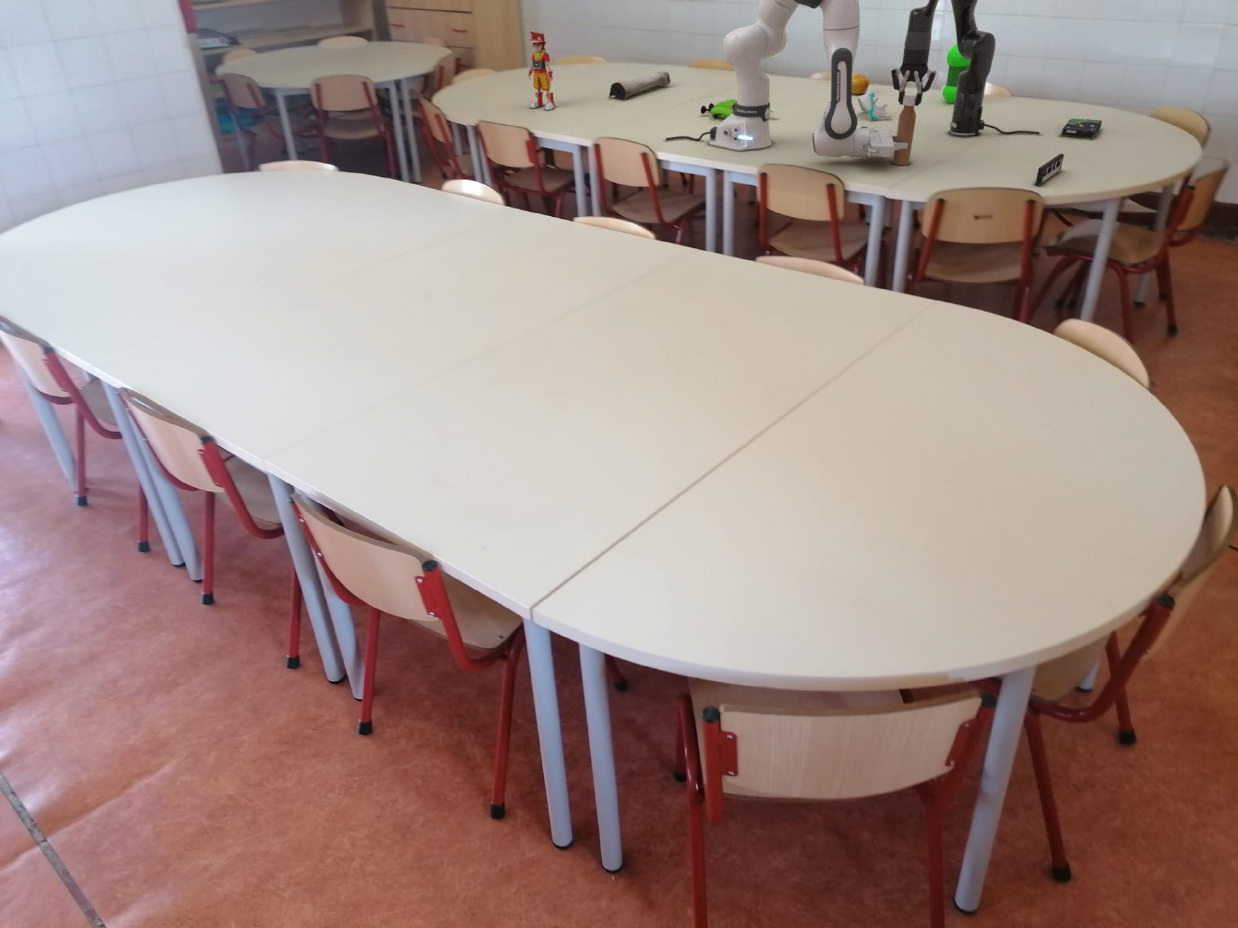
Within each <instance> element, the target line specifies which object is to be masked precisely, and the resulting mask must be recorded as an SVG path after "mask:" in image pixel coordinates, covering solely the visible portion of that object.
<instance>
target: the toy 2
mask: <svg viewBox="0 0 1238 928" xmlns="http://www.w3.org/2000/svg"><path fill="white" fill-rule="evenodd" d="M736 102H737V99H726V100H723V101H720V102H717V103H716V104H715V105H714V103H712V102H710V103H709V105H708V108H707V107H706V106H705V105H702V106H700V107H701V108H700V114H701V115H705V114H706V112H710V115H712V116H713V119H719V118H721V119H726V118H727V117H728V116H730V115H731V114H732V112H733V109H730V108H731V107H730V106H732V105H733V104H735V103H736ZM770 113H774V110H771V109H770ZM769 119H774V120H775V119H777V117H773V116H770V117H769Z"/></svg>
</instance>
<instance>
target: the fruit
mask: <svg viewBox="0 0 1238 928" xmlns="http://www.w3.org/2000/svg"><path fill="white" fill-rule="evenodd" d="M869 85H870V83H869V79H868V78H867V77H866V76H864V75H863V74H857V75H852V95H861V94H864V93H866V92H867V90H868V89H869Z"/></svg>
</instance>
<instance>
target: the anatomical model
mask: <svg viewBox="0 0 1238 928" xmlns="http://www.w3.org/2000/svg"><path fill="white" fill-rule="evenodd" d="M864 93H865V94H863V95H859V96H858V97H857V102H858V105H859V107H860V110H861V111H862V112H865V113H868V116H869V117H870V119H871V120H872V121H878V120H879V119H890V118H891V117H892V114H890V113H889V114H888V113H886V112H885V111H886V108H887V107H888V106H889V105H888V104H887V103H886V104H883V105H881V106H880V105H879V106H877V105H876V103H877V101H879V97H877V98H875V97H876V95H875V92H872V90H871V89H867V90H866V91H865V92H864Z"/></svg>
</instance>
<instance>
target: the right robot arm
mask: <svg viewBox="0 0 1238 928" xmlns="http://www.w3.org/2000/svg"><path fill="white" fill-rule="evenodd" d="M939 1H940V0H928V2H927V4H926V5H923V6H920V7H915V8H912V9H911V10H910V12H909V15H908V16H909V17H908V25H907V30H906V31H907V32H906V35H905V41H904V48H903V54H902V55H903V56H902V62H901V66H900V67H897V68H896V67H894V68H893V69H892V70H890V73H891V79H892V86H893V87H892V88H893V90H894V91H895V90H896V91H898V100H897V101H898V103H899V105H900V106H903V104H902V102H903V96H905V95H906V88H907V85H908V83H910V82H912V83H915V87H916V92H917V93H916V94H915V96H916V102H915V106H914V107H918V106H920V104H922V101H923V100H922V99H923V94H924V93H927V92H928V91H929V90H931V87H932V85H933V82H934V80H935V78H936V76H937V71H936V70H931V69H929V67H928V63H929V57H930V49H931V44H932V31H933V24H934V18H935V13H936V9H937V7H938V4H939ZM978 2H979V0H950V4H951V8H952V13H953V18H954V19H953V20H954V24H955V36H956V44H957V46H958V51H959V54H960V55H961V57H963V58H964V59H968V60H971V62H970V66H969V69H968V70H967V71H963V72H961V73H960V74H959V77H958V83H957V90H956V96H955V103H953V110H952V115H951V121H949V126H950V129H949V134H950V135H952V136H956V137H973V136H979V131H984V130H985V127H986V128H990V129H993V130H996V131H997V132H999V133H1000V134H1003V135H1011V134H1012V135H1013V134H1034V135H1040V131H1032V130H1012V131H1003V130H1001V129H1000V128H998V127H997V126H994V125H991V124H987V123H985V120H984V119H982V115H983V109H984V107H983V102H984V96H985V90H986V83H987V79H988V77H989V74H990V73H991V69H992V65H993V61H994V56H995V51H996V44H997V43H996V37H995V35H994V34H993V33H992V32H989V31H984V30H979V29H978V27H977V23H976V16H975V12H976V11H975V10H976V6H977V4H978ZM900 74H901V75H902V77H903V78H902V81H901V84H900V78H899V76H900ZM925 75H926V77H927V81H926V83H925V85H924V77H925Z"/></svg>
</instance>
